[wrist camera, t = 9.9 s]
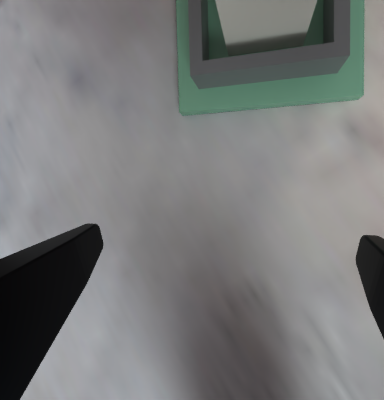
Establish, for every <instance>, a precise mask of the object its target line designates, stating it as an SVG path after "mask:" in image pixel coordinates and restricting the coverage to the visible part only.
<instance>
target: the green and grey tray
mask: <svg viewBox="0 0 384 400" xmlns="http://www.w3.org/2000/svg"><path fill="white" fill-rule="evenodd" d="M176 15H177V50H178V85H179V113H180V114H182V115H183V116H186V115H197V114H208V113H219V112H230V111H240V110H251V109H262V108H273V107H284V106H295V105H305V104H316V103H327V102H338V101H349V100H358V99H359V98H360V97H362V96H363V95H364V0H317V3H316V6H315V9H314V12H313V15H312V18H311V22H310V25H309V28H308V31H307V34H306V37H305V41H304V44H303V46H298V47H291V48H284V49H277V50H270V51H263V52H256V53H249V54H242V55H235V56H228V52H227V48H226V43H225V39H224V35H223V31H222V27H221V23H220V18H219V14H218V10H217V6H216V2H215V0H176Z"/></svg>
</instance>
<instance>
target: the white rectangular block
mask: <svg viewBox="0 0 384 400" xmlns="http://www.w3.org/2000/svg"><path fill="white" fill-rule="evenodd" d="M215 2H216V6H217V10H218V14H219V18H220V23H221V27H222V31H223V35H224V39H225V43H226V48H227V52H228V56H235V55H242V54H249V53H256V52H263V51H270V50H277V49H284V48H291V47H298V46H303V44H304V41H305V37H306V34H307V31H308V28H309V25H310V22H311V18H312V15H313V12H314V9H315V6H316V3H317V0H215Z"/></svg>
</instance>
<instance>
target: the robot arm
mask: <svg viewBox="0 0 384 400" xmlns="http://www.w3.org/2000/svg"><path fill="white" fill-rule="evenodd" d="M102 249H103V239H102V235H101V231H100V228H99V226H98V225H97V224H85V225H82V226H80V227H77V228H75V229H72V230H70V231H67V232H65V233H63V234H60V235H58V236H55V237H53V238H50V239H48V240H45V241H43V242H41V243H38V244H36V245H33V246H31V247H28V248H26V249H24V250H21V251H19V252H16V253H14V254H11V255H9V256H6V257H4V258H2V259H0V400H20V398H21V397H22V395H23V393H24V392H25V390H26V388H27V386H28V385H29V383H30V381H31V379H32V378H33V376H34V374H35V372H36V371H37V369H38V367H39V366H40V364H41V362H42V360H43V359H44V357H45V355H46V353H47V352H48V350H49V348H50V347H51V345H52V343H53V341H54V340H55V338H56V336H57V334H58V333H59V331H60V329H61V327H62V326H63V324H64V322H65V321H66V319H67V317H68V315H69V314H70V312H71V310H72V308H73V307H74V305H75V303H76V302H77V300H78V298H79V296H80V295H81V293H82V291H83V289H84V288H85V286H86V284H87V282H88V280H89V278H90V276H91V274H92V271H93V269H94V267H95V265H96V262H97V260H98V258H99V256H100V253H101V251H102ZM356 264H357V268H358V271H359V274H360V278H361V281H362V284H363V287H364V291H365V294H366V297H367V300H368V303H369V306H370V309H371V311H372V314H373V316H374V318H375V321H376V323H377V325H378V327H379V330H380V332H381V334H382V336H383V339H384V239H383V238H381V237H379V236H376V235H363V236H362V237H361V239H360V242H359V246H358V250H357V255H356Z"/></svg>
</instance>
